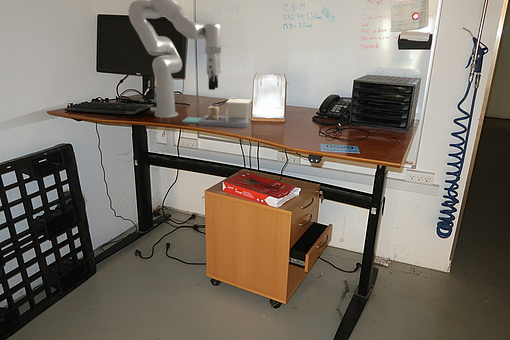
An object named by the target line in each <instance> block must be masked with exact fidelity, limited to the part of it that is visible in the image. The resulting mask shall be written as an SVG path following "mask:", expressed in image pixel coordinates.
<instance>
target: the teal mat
mask: <svg viewBox="0 0 510 340" xmlns="http://www.w3.org/2000/svg"><path fill="white" fill-rule="evenodd" d="M202 118H203V117H191V116H186V118H184V119H183V120H182V121H181V124H182V123H185V124H198V125H199V120H200V119H202Z"/></svg>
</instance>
